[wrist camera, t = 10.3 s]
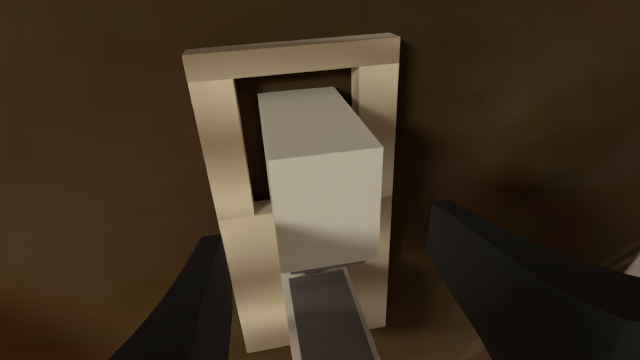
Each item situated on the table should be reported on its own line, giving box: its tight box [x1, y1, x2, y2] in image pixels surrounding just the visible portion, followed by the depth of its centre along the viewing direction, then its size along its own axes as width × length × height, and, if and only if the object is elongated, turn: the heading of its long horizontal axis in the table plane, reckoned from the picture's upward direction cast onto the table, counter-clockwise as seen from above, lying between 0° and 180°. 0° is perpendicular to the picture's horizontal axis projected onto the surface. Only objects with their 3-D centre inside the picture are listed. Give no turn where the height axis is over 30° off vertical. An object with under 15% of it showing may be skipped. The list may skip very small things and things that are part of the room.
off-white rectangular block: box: [257, 87, 383, 275], centre depth 18 cm, size 6×4×8 cm
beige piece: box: [182, 33, 400, 360], centre depth 19 cm, size 20×10×10 cm, turn 3°
